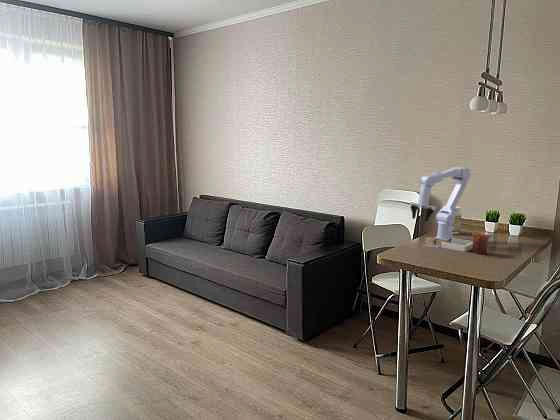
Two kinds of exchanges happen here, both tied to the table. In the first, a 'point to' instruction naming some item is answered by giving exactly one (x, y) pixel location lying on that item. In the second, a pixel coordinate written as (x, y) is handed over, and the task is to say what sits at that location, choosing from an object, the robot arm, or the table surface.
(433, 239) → the tile rear
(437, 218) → the robot arm
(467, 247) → the frame
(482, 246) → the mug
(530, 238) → the table surface
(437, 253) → the table surface
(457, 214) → the supplement tub
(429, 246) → the slate coaster
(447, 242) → the tile front
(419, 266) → the table surface
